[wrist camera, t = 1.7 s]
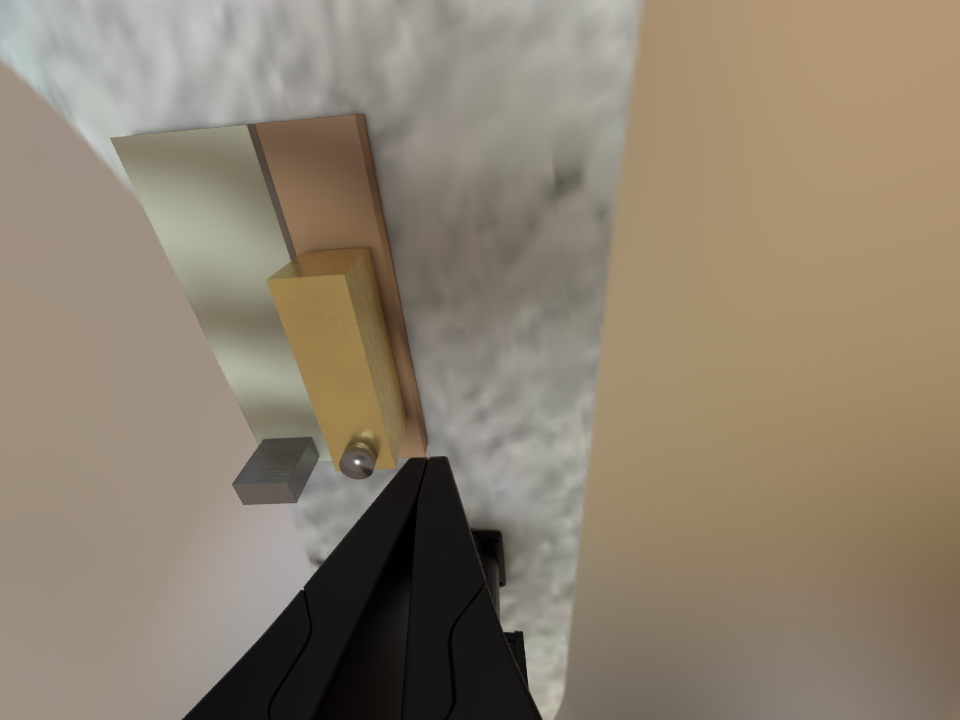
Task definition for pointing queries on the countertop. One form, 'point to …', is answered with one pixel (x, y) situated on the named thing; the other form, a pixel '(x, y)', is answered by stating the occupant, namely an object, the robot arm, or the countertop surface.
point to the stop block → (277, 471)
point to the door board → (267, 247)
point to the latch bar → (343, 355)
